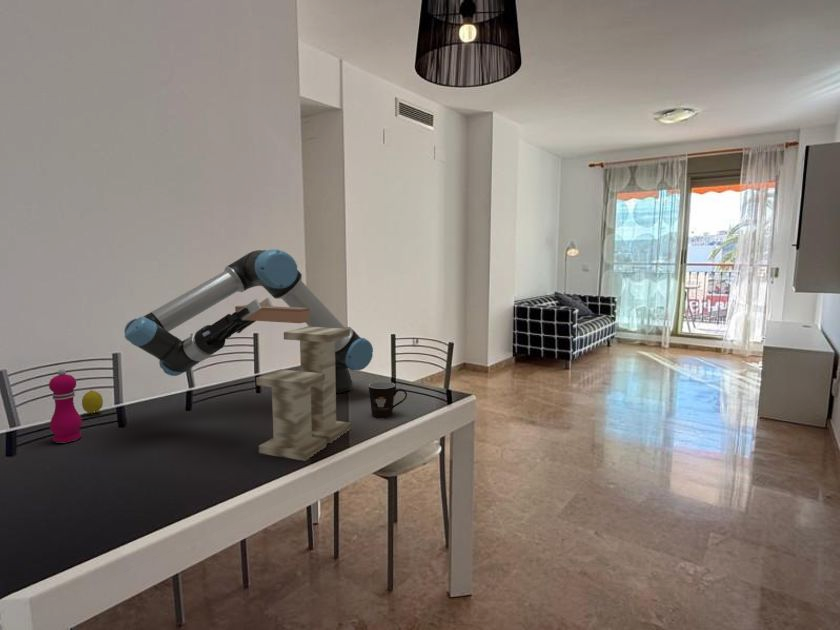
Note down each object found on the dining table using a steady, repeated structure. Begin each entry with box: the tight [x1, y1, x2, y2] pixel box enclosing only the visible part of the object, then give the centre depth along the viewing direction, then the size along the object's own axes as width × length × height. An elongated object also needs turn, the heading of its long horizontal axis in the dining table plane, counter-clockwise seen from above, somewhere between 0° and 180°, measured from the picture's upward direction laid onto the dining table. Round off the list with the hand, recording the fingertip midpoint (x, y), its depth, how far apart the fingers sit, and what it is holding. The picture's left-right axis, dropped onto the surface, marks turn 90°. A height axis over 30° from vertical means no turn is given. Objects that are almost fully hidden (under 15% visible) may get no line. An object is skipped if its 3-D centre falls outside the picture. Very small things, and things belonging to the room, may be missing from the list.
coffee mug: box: [368, 381, 408, 419], centre depth 154 cm, size 12×9×10 cm
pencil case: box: [234, 304, 310, 324], centre depth 125 cm, size 20×4×4 cm, turn 70°
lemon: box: [81, 389, 104, 414], centre depth 155 cm, size 6×6×8 cm
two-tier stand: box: [255, 326, 352, 462], centre depth 132 cm, size 14×24×30 cm, turn 160°
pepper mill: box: [48, 368, 83, 443], centre depth 132 cm, size 7×7×20 cm
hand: (264, 303), depth 126 cm, fingers closed on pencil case, 4 cm apart
